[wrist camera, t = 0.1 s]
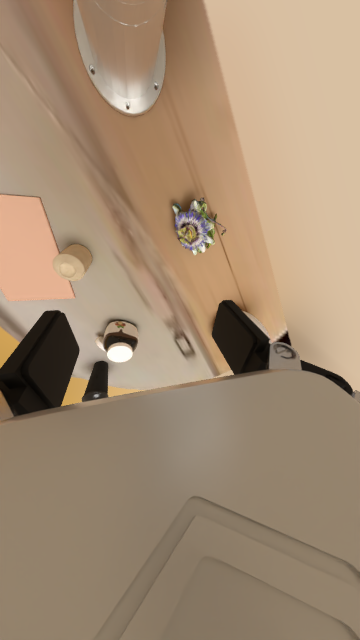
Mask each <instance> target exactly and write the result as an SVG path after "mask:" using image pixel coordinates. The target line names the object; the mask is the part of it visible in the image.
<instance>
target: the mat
mask: <svg viewBox="0 0 360 640" xmlns="http://www.w3.org/2000/svg"><path fill="white" fill-rule="evenodd" d="M58 254H60V252H59V249H58V246H57V243H56V241H55V238H54V235H53V232H52V229H51V226H50V224H49V221H48V218H47V215H46V212H45V210H44V207H43V204H42V201H41V198H38V197H26V196H14V195H2V194H0V289H1V290H2V292H3V293H4V295H5V297H6V298H7V300H8V301H22V300H45V299H67V298H75V294H74V292H73V289H72V286H71V283H70V281H69V280H66V279H64V278H62V277H60V276H59V275H58V274H57V273H56V272H55V270H54V268H53V259H54V258H55V257H56V256H57V255H58Z"/></svg>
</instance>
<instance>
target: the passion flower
mask: <svg viewBox="0 0 360 640" xmlns="http://www.w3.org/2000/svg"><path fill="white" fill-rule="evenodd" d="M200 200H201V201H199V202H198V201H196V199H194V200H193V201H192V202H191V206H190V209H189V211H188V212H183V211H182V209H181V206H180V205H179V204H177V203H174V204H173V209H174V211H175V214H176V217H175V221H176V223H175V227H176V230H175V232H176V233H177V235H178V239H179V241H181V243H182V246H183V247H184V246H185V248H189V250H192V252H193V254H194V255H196V254H197V252H199V253H201V252H203V253H204V252H205V249H206V242H207V243H208V246H207V249H208V248H209V246H210V245H211V244H212V245H214V244H215V242H214V239H213V237H214V233H215V231H214V229H213V228H214V226H215V223H217V222H216V221H215V220H216V218H217V214H216V215H215V217H214V219H211V218H209V217H208V215H207V213H206V208H207V206H206V203H205V202H204V198H201V199H200ZM200 205H201V206H200ZM202 207H203V210H202V209H201V208H202ZM207 219H209V220H210V221H208V220H207ZM217 224H218V225H220V226H222V225H221V224H219V223H217ZM222 227H223V226H222ZM223 228H225V227H223ZM225 232H226V228H225V230H223V233H222V234H221V235H222V236H223V235H224V234H225Z"/></svg>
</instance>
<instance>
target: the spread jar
mask: <svg viewBox="0 0 360 640" xmlns="http://www.w3.org/2000/svg"><path fill="white" fill-rule="evenodd" d="M95 342H96V344H97V345H98V347H100V348H101V349H102V350H104V351H106V352H107V356H108V358H109V359H110V360H112V361H114V362H124V361H127V360H129V359H130V358H131V357H132V354H133V352H134V350H135V349H136V347H137V344H138V331H137V328H136V327H135V326H134V325H133V324H131V323H129V322H127V321H123V320H118V321H113V322H111V323H110V324H109V325H108V326H107V328H106V330H105V334H104V337H101V336H100V337H98V338H97V339H96V341H95Z"/></svg>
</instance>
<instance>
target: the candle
mask: <svg viewBox="0 0 360 640" xmlns="http://www.w3.org/2000/svg"><path fill="white" fill-rule="evenodd" d="M91 263H92V255H91V253H90V252H89V250H88V249H87V248H85V247H84V246H82V245H79V244H73V245H70V246H69V247H67V248H66V249H65V250H63V251H62V252H61V253H60V254H58V255H57V256H56V257H55V258H54V259H53V268H54V270H55V272H56V273H57V274H58V275H59V276H60V277H62V278H64V279H66V280H69V281H77V280H79V279H81V278H82V277H83V276H84V274H85V273H86V271H87V269H88V268H89V266H90V265H91Z"/></svg>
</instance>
